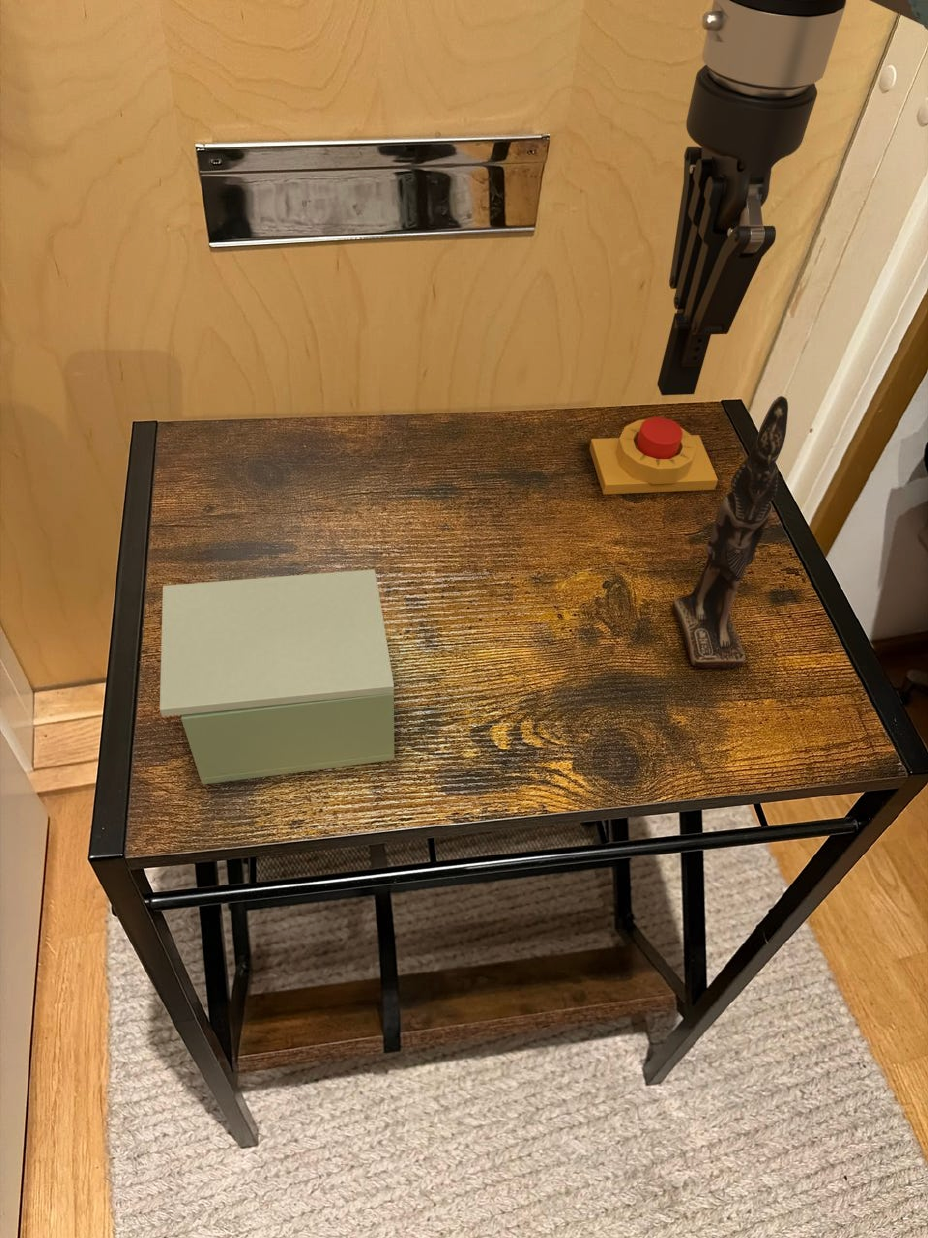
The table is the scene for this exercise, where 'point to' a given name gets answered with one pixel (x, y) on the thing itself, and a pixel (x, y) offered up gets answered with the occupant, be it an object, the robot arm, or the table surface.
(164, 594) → the hatch lid
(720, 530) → the statue
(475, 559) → the table surface
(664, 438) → the button
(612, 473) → the button block
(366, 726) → the hatch box
